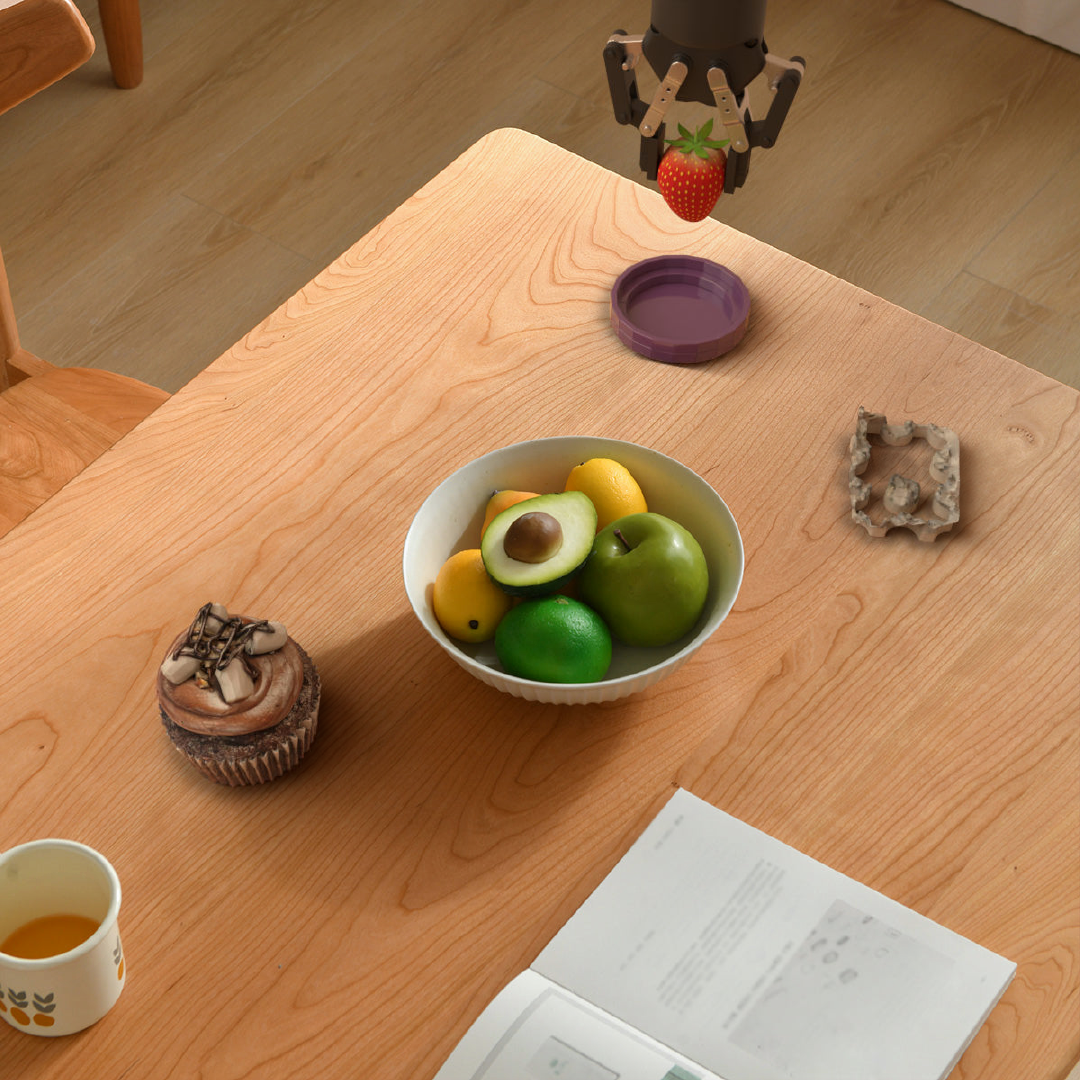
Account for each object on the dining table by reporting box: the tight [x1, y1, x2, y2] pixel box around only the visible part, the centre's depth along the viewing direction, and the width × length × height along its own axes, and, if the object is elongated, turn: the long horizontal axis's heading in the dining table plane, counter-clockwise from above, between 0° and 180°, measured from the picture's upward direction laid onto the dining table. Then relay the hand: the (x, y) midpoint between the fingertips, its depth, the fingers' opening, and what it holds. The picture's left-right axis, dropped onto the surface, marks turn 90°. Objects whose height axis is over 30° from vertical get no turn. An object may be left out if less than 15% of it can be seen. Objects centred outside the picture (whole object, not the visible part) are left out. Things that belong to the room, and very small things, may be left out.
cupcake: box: [154, 601, 322, 787], centre depth 80 cm, size 10×10×10 cm
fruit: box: [657, 117, 730, 224], centre depth 99 cm, size 5×5×8 cm
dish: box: [609, 254, 752, 364], centre depth 108 cm, size 11×11×3 cm
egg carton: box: [848, 405, 961, 543], centre depth 95 cm, size 11×8×4 cm
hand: (692, 180), depth 99 cm, fingers closed on fruit, 5 cm apart
